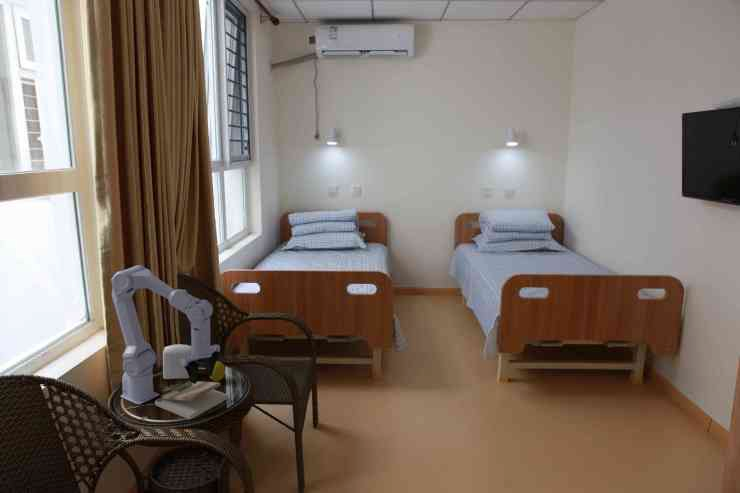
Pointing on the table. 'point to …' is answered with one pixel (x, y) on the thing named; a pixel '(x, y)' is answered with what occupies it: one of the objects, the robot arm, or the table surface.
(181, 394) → the board
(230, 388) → the table surface
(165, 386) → the table surface
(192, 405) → the light grey square plate
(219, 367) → the lemon
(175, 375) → the photo printer
